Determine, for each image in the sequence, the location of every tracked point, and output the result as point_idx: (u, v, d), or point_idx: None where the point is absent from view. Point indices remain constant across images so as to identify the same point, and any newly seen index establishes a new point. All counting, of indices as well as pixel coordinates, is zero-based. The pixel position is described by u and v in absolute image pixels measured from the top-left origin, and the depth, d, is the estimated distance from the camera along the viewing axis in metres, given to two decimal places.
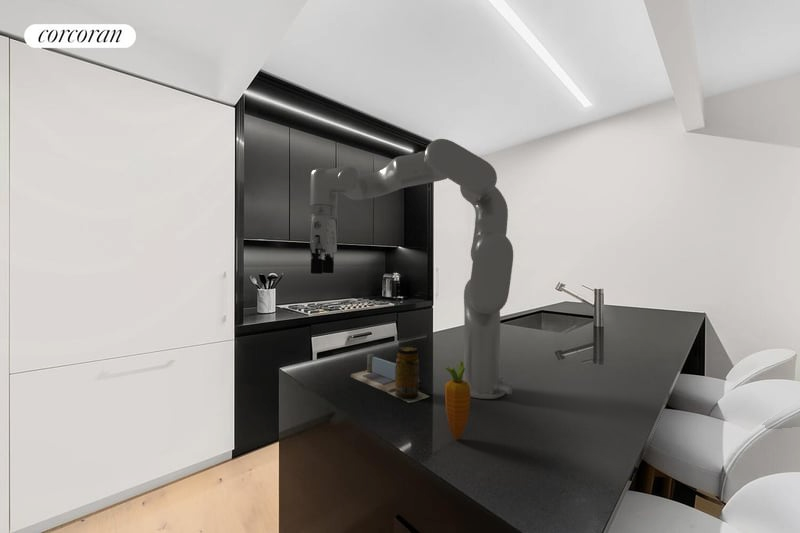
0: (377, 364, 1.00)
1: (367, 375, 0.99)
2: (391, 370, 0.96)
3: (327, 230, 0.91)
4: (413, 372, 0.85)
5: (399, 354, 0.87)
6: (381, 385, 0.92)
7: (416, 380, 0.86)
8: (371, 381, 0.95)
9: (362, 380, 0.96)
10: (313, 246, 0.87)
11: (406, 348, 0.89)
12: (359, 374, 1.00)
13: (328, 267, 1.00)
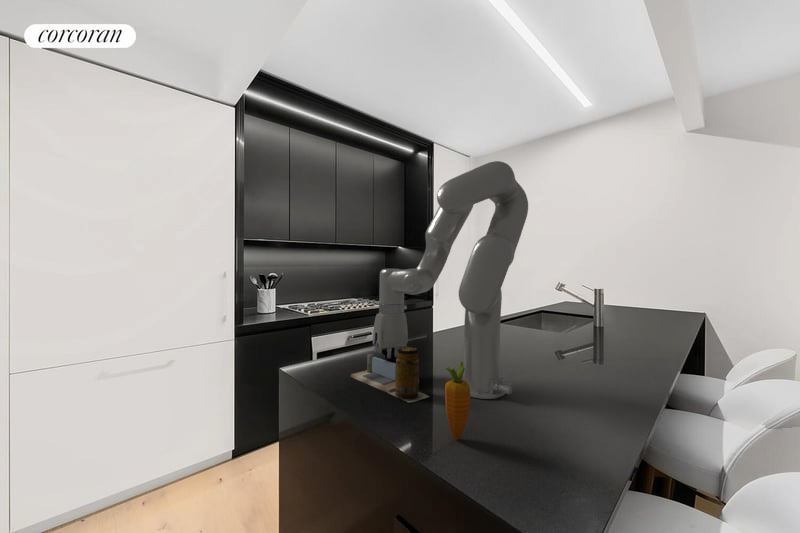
0: (377, 364, 1.00)
1: (367, 375, 0.99)
2: (391, 370, 0.96)
3: None
4: (413, 372, 0.85)
5: (399, 354, 0.87)
6: (381, 385, 0.92)
7: (416, 380, 0.86)
8: (371, 381, 0.95)
9: (362, 380, 0.96)
10: None
11: (406, 348, 0.89)
12: (359, 374, 1.00)
13: None
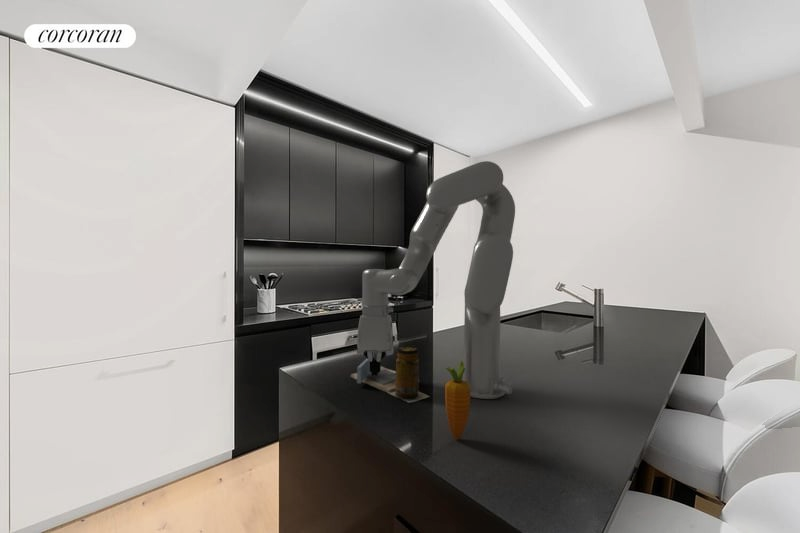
0: None
1: None
2: None
3: None
4: (413, 372, 0.85)
5: (399, 354, 0.87)
6: (381, 385, 0.92)
7: (416, 380, 0.86)
8: (371, 381, 0.95)
9: None
10: None
11: (406, 348, 0.89)
12: None
13: None
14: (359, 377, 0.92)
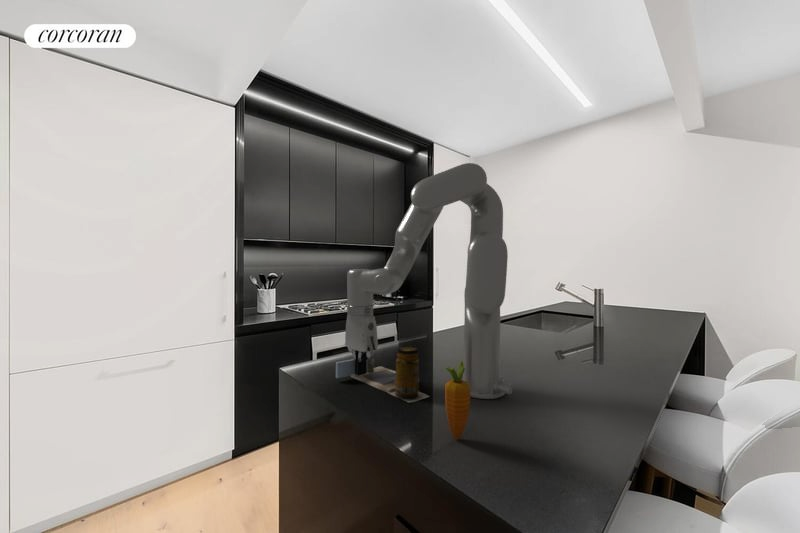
0: None
1: (367, 375, 0.99)
2: None
3: None
4: (413, 372, 0.85)
5: (399, 354, 0.87)
6: (381, 385, 0.92)
7: (416, 380, 0.86)
8: (371, 381, 0.95)
9: (362, 380, 0.96)
10: (370, 356, 0.95)
11: (406, 348, 0.89)
12: None
13: None
14: (336, 372, 0.96)
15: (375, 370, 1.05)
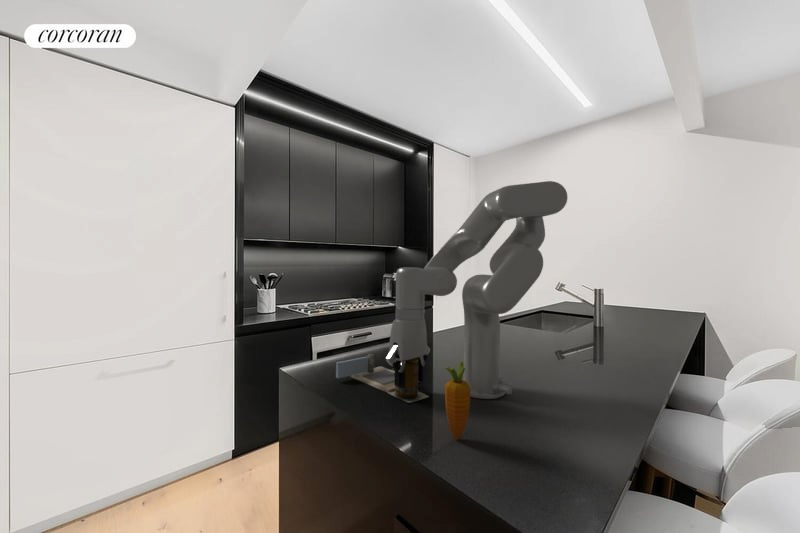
0: None
1: (367, 375, 0.99)
2: None
3: None
4: (413, 372, 0.85)
5: None
6: (381, 385, 0.92)
7: (416, 380, 0.86)
8: (371, 381, 0.95)
9: (362, 380, 0.96)
10: None
11: None
12: (359, 374, 1.00)
13: None
14: (337, 372, 0.96)
15: (375, 370, 1.05)
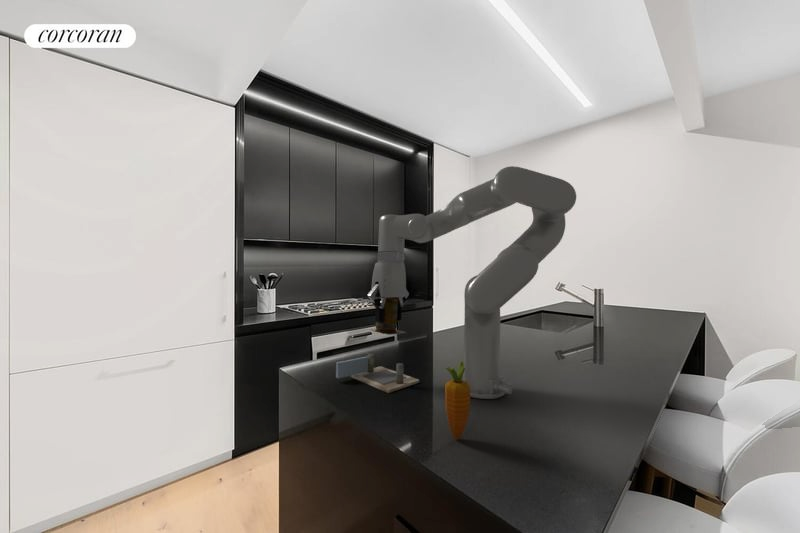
0: None
1: (367, 375, 0.99)
2: None
3: None
4: (392, 309, 0.94)
5: None
6: (381, 385, 0.92)
7: (395, 317, 0.95)
8: (371, 381, 0.95)
9: (362, 380, 0.96)
10: None
11: None
12: (359, 374, 1.00)
13: None
14: (337, 372, 0.96)
15: (375, 370, 1.05)
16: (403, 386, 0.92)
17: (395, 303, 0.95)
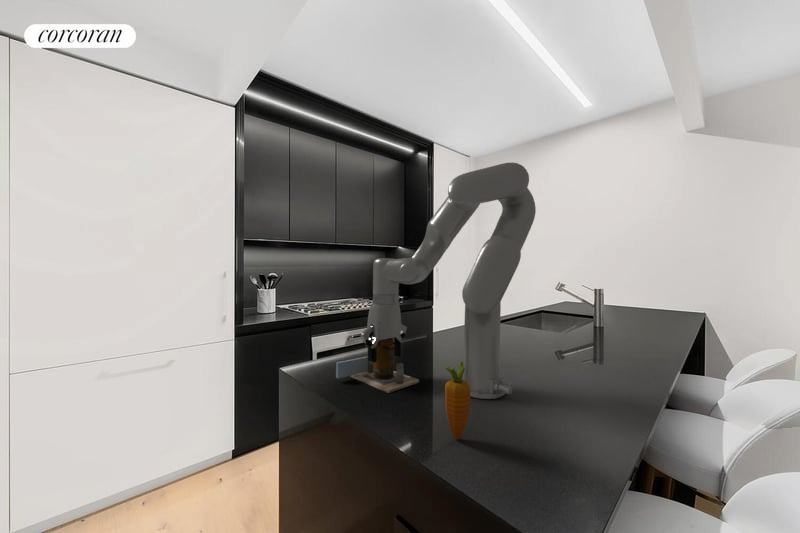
0: None
1: (367, 375, 0.99)
2: None
3: None
4: (388, 355, 0.97)
5: None
6: (381, 385, 0.92)
7: (391, 363, 0.98)
8: (371, 381, 0.95)
9: (362, 380, 0.96)
10: None
11: None
12: (359, 374, 1.00)
13: None
14: (337, 372, 0.96)
15: None
16: (403, 386, 0.92)
17: (391, 349, 0.97)
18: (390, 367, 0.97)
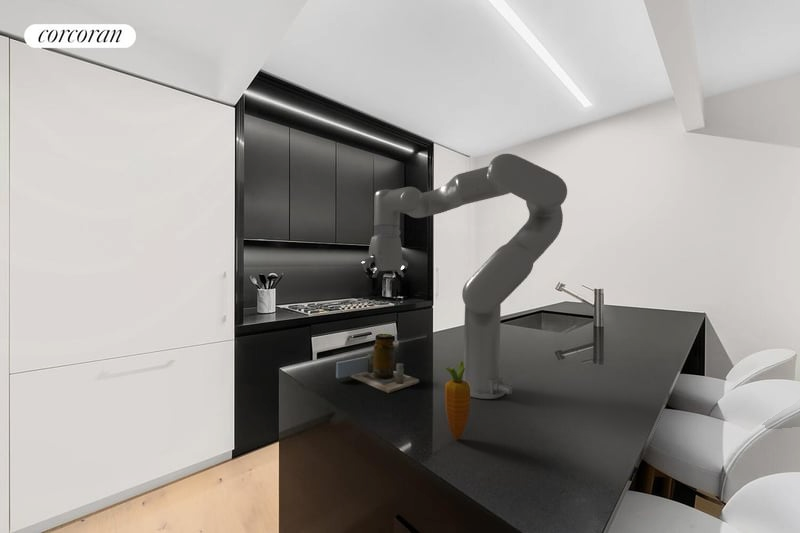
0: None
1: (367, 375, 0.99)
2: None
3: None
4: (388, 355, 0.97)
5: (376, 340, 0.98)
6: (381, 385, 0.92)
7: (391, 363, 0.98)
8: (371, 381, 0.95)
9: (362, 380, 0.96)
10: None
11: (383, 335, 1.00)
12: (359, 374, 1.00)
13: None
14: (337, 372, 0.96)
15: None
16: (403, 386, 0.92)
17: (391, 349, 0.97)
18: (390, 367, 0.97)
